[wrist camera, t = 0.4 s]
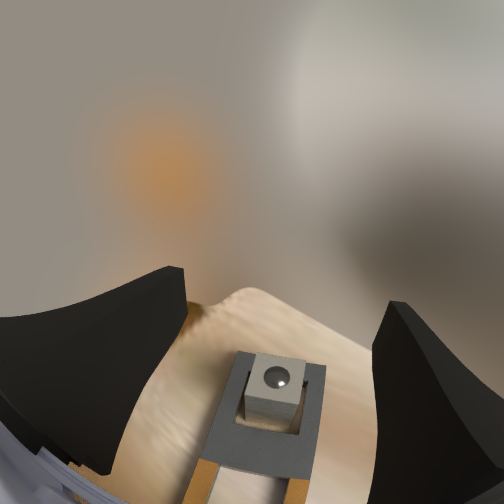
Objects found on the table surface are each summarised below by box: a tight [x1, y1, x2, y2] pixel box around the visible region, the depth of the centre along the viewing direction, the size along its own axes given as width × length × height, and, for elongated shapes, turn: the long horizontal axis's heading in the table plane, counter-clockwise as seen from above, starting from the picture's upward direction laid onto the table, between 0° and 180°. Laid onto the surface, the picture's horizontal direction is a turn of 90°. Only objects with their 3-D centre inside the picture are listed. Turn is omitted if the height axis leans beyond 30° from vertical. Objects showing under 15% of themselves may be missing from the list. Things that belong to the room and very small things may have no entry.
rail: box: [182, 351, 326, 504], centre depth 20 cm, size 22×10×2 cm, turn 166°
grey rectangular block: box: [244, 352, 306, 429], centre depth 23 cm, size 4×4×7 cm
